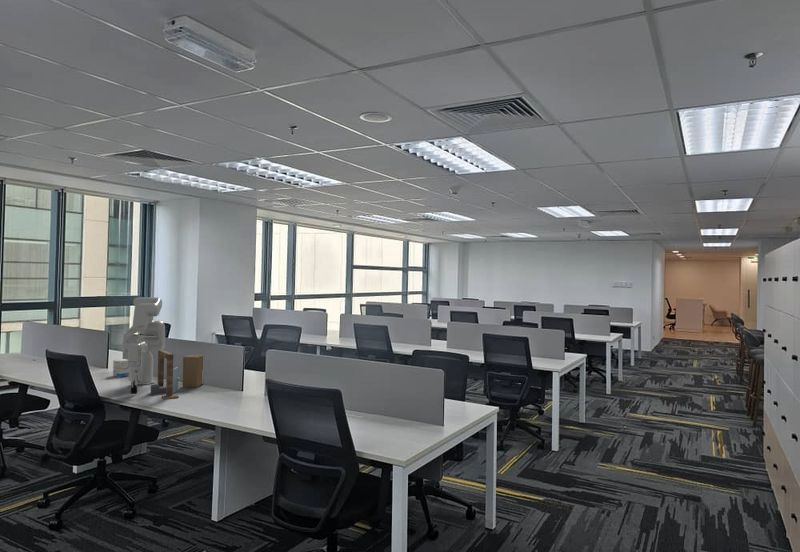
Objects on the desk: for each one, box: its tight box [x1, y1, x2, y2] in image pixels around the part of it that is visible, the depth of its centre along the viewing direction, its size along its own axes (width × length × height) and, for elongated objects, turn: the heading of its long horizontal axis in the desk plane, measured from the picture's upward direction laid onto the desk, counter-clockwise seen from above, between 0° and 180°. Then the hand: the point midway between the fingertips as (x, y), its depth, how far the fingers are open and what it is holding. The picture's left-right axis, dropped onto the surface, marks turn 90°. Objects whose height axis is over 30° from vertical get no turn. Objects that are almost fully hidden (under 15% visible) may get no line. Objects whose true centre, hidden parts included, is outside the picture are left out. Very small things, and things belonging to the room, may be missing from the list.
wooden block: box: [182, 354, 204, 388], centre depth 360 cm, size 10×10×20 cm
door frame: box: [157, 349, 180, 400], centre depth 334 cm, size 31×8×26 cm, turn 38°
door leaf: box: [172, 366, 180, 395], centre depth 335 cm, size 18×2×15 cm, turn 6°
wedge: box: [150, 383, 166, 396], centre depth 337 cm, size 6×12×5 cm, turn 122°
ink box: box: [112, 358, 129, 378], centre depth 389 cm, size 9×8×12 cm
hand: (133, 393), depth 327 cm, fingers closed
